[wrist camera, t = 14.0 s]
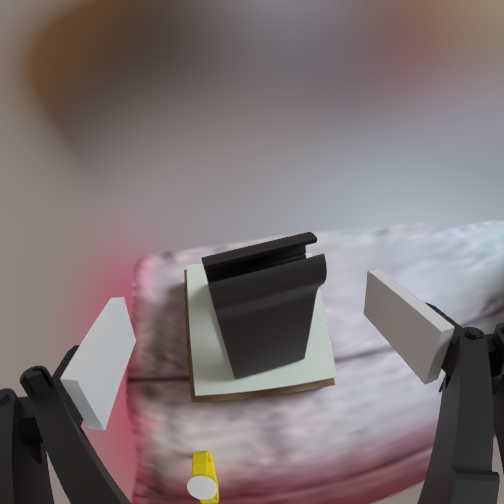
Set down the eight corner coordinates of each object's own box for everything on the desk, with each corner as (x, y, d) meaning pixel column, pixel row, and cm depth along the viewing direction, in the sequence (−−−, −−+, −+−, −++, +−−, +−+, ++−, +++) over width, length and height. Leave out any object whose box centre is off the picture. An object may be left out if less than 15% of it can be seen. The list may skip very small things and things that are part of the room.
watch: (226, 491, 23) (224, 513, 18) (201, 492, 23) (194, 515, 18) (216, 445, 26) (211, 460, 20) (190, 447, 25) (180, 462, 20)
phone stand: (208, 282, 26) (188, 201, 16) (272, 267, 27) (291, 180, 17) (234, 380, 23) (228, 367, 12) (303, 360, 23) (354, 328, 13)
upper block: (304, 269, 32) (311, 252, 28) (324, 379, 26) (336, 376, 23) (193, 280, 31) (186, 265, 27) (201, 395, 25) (195, 395, 22)
